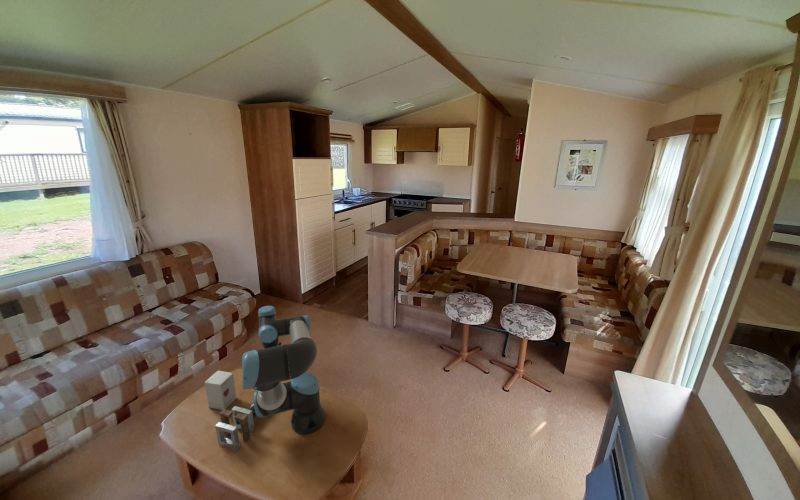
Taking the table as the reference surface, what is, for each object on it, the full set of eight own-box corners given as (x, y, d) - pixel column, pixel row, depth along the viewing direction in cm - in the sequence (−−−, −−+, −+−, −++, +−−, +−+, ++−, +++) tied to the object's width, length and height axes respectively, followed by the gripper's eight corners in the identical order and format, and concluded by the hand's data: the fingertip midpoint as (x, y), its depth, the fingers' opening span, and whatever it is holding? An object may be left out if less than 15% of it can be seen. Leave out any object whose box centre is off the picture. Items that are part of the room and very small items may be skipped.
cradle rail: (274, 400, 159) (273, 396, 158) (253, 424, 145) (252, 420, 144) (266, 399, 160) (266, 394, 159) (245, 422, 146) (244, 417, 145)
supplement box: (224, 411, 152) (219, 385, 148) (208, 407, 154) (203, 382, 149) (237, 397, 160) (233, 372, 156) (222, 394, 162) (217, 369, 158)
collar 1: (240, 446, 134) (236, 426, 131) (236, 450, 132) (233, 430, 129) (222, 441, 136) (218, 421, 133) (218, 445, 135) (215, 425, 131)
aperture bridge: (250, 438, 138) (247, 415, 134) (247, 442, 136) (243, 419, 132) (227, 431, 141) (223, 408, 137) (223, 435, 139) (219, 413, 135)
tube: (264, 395, 158) (263, 388, 157) (272, 397, 157) (271, 390, 156) (241, 420, 143) (240, 413, 142) (249, 422, 142) (248, 415, 141)
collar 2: (254, 429, 142) (251, 410, 139) (251, 432, 141) (248, 413, 137) (237, 424, 145) (234, 406, 142) (234, 428, 143) (231, 409, 140)
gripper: (271, 328, 161) (276, 367, 168) (254, 342, 149) (259, 384, 156) (284, 330, 159) (288, 370, 166) (267, 345, 147) (272, 387, 154)
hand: (274, 376), depth 161 cm, fingers closed
